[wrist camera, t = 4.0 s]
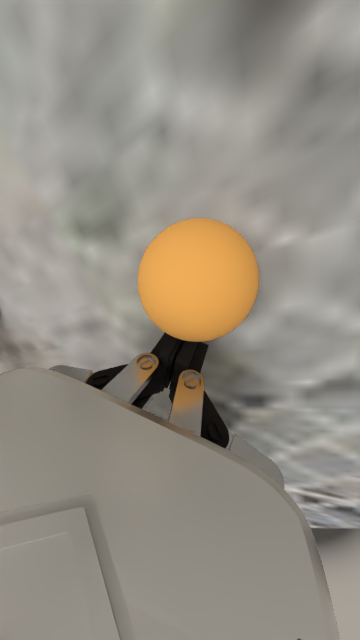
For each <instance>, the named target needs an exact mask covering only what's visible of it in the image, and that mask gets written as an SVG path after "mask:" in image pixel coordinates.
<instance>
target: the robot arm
mask: <svg viewBox="0 0 360 640" xmlns="http://www.w3.org/2000/svg"><path fill="white" fill-rule="evenodd" d="M207 348H208V345H207V344H204V343H202V342H191V341H185V340H181V339H178V338H175V337H173V336H171V335H169V334H167V333H164V335H163V336H162V338H161V339H160V341H159V342H158V343H157V345H156V346H155V348H154V349H153V350H152V352H151V353H142V354H140V355H138V356H137V357H136V358H135V359H134V360H133V361H132V362H130V363H129V364H126V365H122V366H118V367H114V368H110V369H105V370H101V371H98V372H95V373H93V372H92V371H91V370H86V369H80V368H74V367H69V366H63V365H58V366H54V367H52V368H50V369H40V368H20V369H14V370H10V371H7V372H5V373H2V374H0V640H340V636H339V632H338V627H337V622H336V618H335V613H334V609H333V605H332V601H331V597H330V593H329V588H328V585H327V580H326V576H325V572H324V569H323V565H322V561H321V558H320V555H319V551H318V548H317V545H316V542H315V539H314V537H313V534H312V531H311V528H310V526H309V524H308V522H307V520H306V518H305V516H304V514H303V513H302V511H301V510H300V508H299V507H298V506H297V504H296V503H295V502H294V500H293V499H292V498H291V497H290V496H289V495H288V493H287V492H286V491H285V490H284V478H283V476H282V473H281V471H280V469H279V468H278V466H277V465H276V464H275V463H274V462H273V461H272V460H271V459H269V458H268V457H267V456H265V455H264V454H262V453H261V452H260V451H258V450H257V449H255V448H254V447H253V446H251V445H250V444H248V443H247V442H246V441H244V440H243V439H241V438H240V437H239V436H237V435H236V434H235V435H233V434H231V433H230V432H229V431H228V430H227V427H226V426H225V424H224V422H223V421H222V419H221V417H220V416H219V414H218V412H217V411H216V409H215V407H214V406H213V404H212V402H211V401H210V399H209V397H208V396H207V394H206V393H205V391H204V379H203V377H202V375H201V374H200V372H201V368H202V365H203V362H204V358H205V355H206V352H207ZM170 381H171V384H170ZM169 384H170V388H169V389H170V394H169V397H170V400H171V402H172V408H171V412H170V416H169V421H166V420H164V419H162V418H159V417H157V416H155V415H153V414H151V413H149V412H146V411H144V409H145V408H146V407H147V405H148V404H149V402H150V401H151V400H152V398H153V397H154V395H155V394H156V393H159V392H160V391H162V392H163V390H164V388H168V386H169Z"/></svg>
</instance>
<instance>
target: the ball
mask: <svg viewBox="0 0 360 640" xmlns="http://www.w3.org/2000/svg"><path fill="white" fill-rule="evenodd" d="M258 285H259V271H258V265H257V262H256V258H255V255H254V253H253V251H252V249H251V247H250V246H249V244H248V243H247V241H246V240H245V239H244V238H243V237H242V236H241V235H240V234H239V233H238V232H237V231H236V230H235V229H233V228H232V227H230V226H228V225H226V224H224V223H222V222H219V221H216V220H212V219H205V218H194V219H187V220H183V221H180V222H177V223H175V224H173V225H171V226H169V227H167V228H166V229H164V230H163V231H162V232H161V233H160V234H158V235H157V236H156V238H155V239H154V240H153V241H152V242H151V243H150V245H149V246H148V247H147V249H146V251H145V253H144V255H143V258H142V260H141V263H140V267H139V272H138V291H139V296H140V299H141V303H142V305H143V307H144V309H145V312H146V313H147V315H148V316H149V318H150V319H151V320H152V321H153V322H154V324H155V325H156V326H158V327H159V328H160V329H161V330H162V331H164V332H165V333H167V334H169V335H171V336H173V337H175V338H178V339H181V340H185V341H191V342H202V341H209V340H214V339H216V338H219V337H222V336H224V335H226V334H227V333H229V332H230V331H232V330H233V329H235V328H236V327H237V326H238V325H239V324H240V323H241V322H242V321H243V320H244V319H245V318H246V316H247V315H248V313H249V312H250V310H251V308H252V306H253V304H254V302H255V299H256V296H257V292H258Z"/></svg>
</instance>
